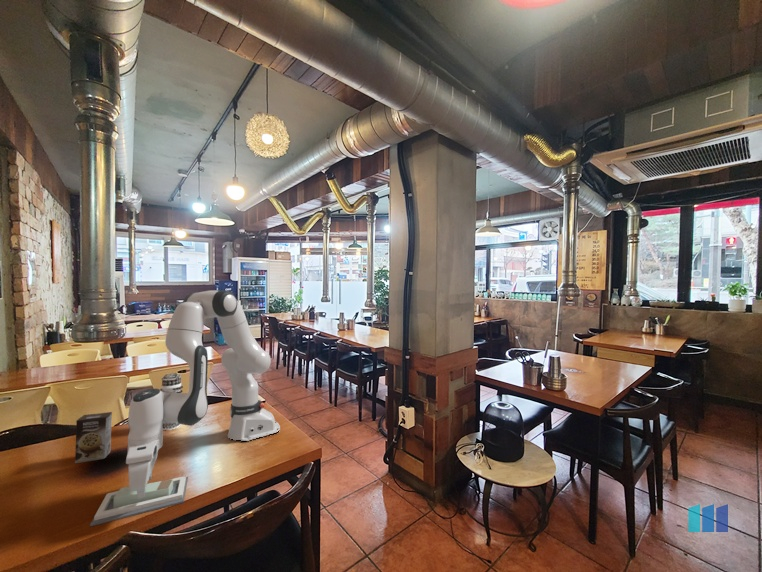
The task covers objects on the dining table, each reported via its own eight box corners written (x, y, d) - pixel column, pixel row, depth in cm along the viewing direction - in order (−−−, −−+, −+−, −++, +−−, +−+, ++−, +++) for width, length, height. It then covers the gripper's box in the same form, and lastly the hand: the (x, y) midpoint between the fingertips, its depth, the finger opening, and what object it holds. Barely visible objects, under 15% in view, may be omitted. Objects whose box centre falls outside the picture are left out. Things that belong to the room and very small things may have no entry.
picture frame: (187, 478, 109) (187, 473, 109) (183, 502, 96) (183, 497, 96) (106, 496, 99) (106, 491, 99) (90, 526, 86) (90, 520, 86)
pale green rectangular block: (120, 497, 98) (121, 487, 98) (173, 488, 102) (173, 478, 102) (113, 508, 93) (113, 497, 93) (168, 497, 98) (168, 487, 98)
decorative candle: (182, 421, 155) (183, 371, 156) (182, 428, 148) (183, 375, 148) (159, 425, 151) (161, 373, 151) (158, 432, 143) (159, 378, 143)
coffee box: (74, 463, 117) (75, 420, 117) (82, 455, 123) (83, 414, 123) (104, 458, 121) (105, 417, 121) (111, 451, 126) (112, 411, 127)
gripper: (140, 432, 106) (140, 473, 105) (124, 461, 87) (123, 511, 87) (163, 428, 109) (162, 468, 108) (151, 456, 90) (150, 504, 90)
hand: (144, 487), depth 98 cm, fingers open, 8 cm apart
